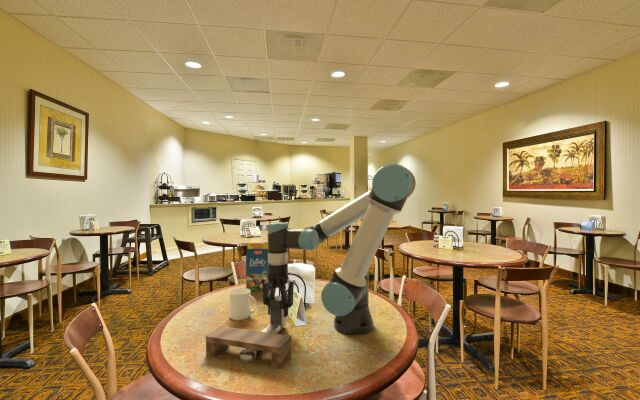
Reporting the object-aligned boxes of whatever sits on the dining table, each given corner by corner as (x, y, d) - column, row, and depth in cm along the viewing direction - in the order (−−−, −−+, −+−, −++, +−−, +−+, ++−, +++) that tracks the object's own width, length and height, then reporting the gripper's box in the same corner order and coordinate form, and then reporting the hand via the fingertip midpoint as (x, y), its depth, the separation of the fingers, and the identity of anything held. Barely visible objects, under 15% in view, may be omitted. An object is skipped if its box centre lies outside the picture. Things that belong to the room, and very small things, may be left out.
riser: (291, 355, 98) (291, 335, 98) (280, 368, 90) (280, 347, 90) (221, 343, 105) (221, 326, 105) (206, 355, 98) (205, 336, 98)
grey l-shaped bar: (276, 323, 120) (276, 295, 120) (285, 324, 119) (285, 296, 118) (247, 349, 100) (247, 315, 100) (258, 351, 99) (258, 317, 98)
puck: (259, 356, 97) (259, 349, 97) (251, 365, 92) (251, 357, 92) (245, 354, 99) (245, 347, 99) (236, 362, 94) (236, 354, 94)
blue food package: (268, 291, 162) (268, 244, 162) (246, 291, 163) (245, 244, 162) (270, 288, 169) (270, 242, 168) (249, 288, 169) (248, 243, 169)
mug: (251, 322, 123) (251, 296, 123) (225, 319, 126) (225, 293, 126) (261, 314, 131) (261, 289, 131) (236, 311, 134) (236, 287, 134)
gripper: (302, 262, 117) (302, 322, 118) (262, 259, 123) (262, 317, 123) (294, 266, 110) (295, 331, 111) (253, 263, 115) (253, 325, 116)
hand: (278, 323), depth 117 cm, fingers closed on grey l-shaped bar, 4 cm apart
